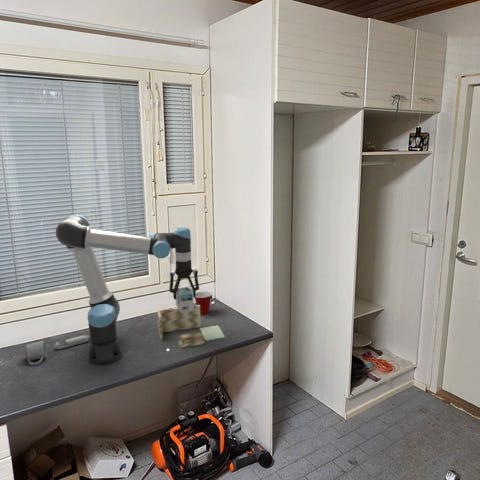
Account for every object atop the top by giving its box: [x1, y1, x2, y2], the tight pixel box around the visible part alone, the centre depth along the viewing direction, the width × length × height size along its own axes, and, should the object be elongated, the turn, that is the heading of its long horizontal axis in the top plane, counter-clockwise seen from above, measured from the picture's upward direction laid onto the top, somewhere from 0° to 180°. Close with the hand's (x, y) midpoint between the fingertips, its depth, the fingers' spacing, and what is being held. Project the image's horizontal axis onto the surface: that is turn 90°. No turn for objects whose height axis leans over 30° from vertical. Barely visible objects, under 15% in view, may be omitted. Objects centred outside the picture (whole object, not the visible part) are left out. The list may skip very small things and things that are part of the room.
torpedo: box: [54, 329, 90, 350], centre depth 202 cm, size 18×5×7 cm, turn 125°
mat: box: [199, 325, 226, 342], centre depth 214 cm, size 10×14×1 cm
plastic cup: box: [194, 290, 213, 316], centre depth 237 cm, size 11×11×12 cm
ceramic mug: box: [24, 340, 47, 366], centre depth 188 cm, size 11×8×8 cm
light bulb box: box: [176, 283, 195, 313], centre depth 206 cm, size 11×7×11 cm, turn 22°
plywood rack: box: [156, 304, 202, 341], centre depth 213 cm, size 22×10×12 cm, turn 107°
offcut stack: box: [178, 332, 206, 348], centre depth 202 cm, size 12×4×5 cm, turn 107°
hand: (184, 304), depth 207 cm, fingers closed on light bulb box, 7 cm apart
